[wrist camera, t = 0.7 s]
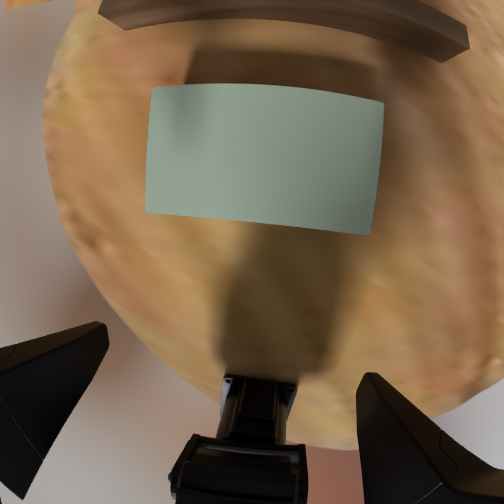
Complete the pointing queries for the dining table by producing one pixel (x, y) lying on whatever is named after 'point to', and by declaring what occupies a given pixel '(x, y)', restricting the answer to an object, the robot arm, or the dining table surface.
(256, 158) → the sage block
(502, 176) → the dining table surface
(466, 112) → the dining table surface
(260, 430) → the robot arm
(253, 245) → the dining table surface
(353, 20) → the walnut board
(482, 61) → the dining table surface
